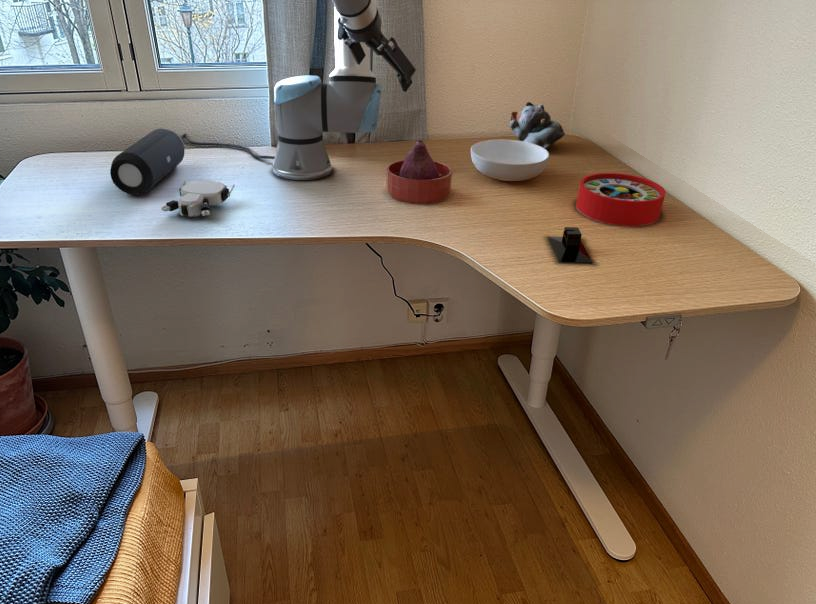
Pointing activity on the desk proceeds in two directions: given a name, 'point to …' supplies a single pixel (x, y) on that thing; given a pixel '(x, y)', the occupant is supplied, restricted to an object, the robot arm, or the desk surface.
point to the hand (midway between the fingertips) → (384, 73)
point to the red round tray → (418, 185)
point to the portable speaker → (147, 161)
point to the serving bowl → (509, 159)
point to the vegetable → (419, 164)
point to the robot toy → (198, 197)
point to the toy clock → (620, 199)
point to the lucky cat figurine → (535, 126)
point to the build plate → (570, 247)
